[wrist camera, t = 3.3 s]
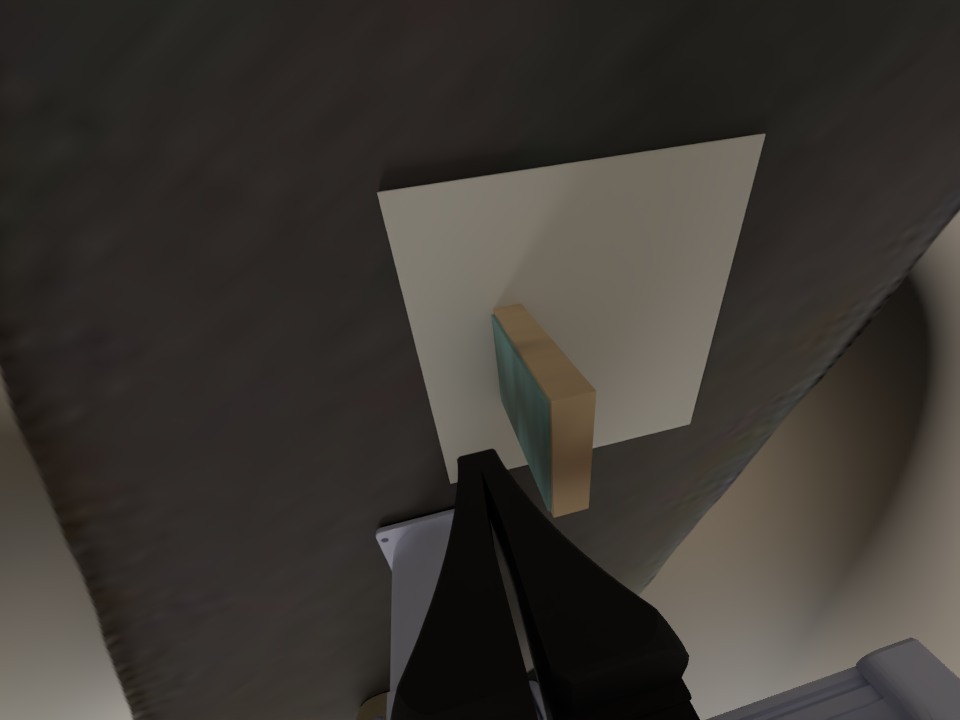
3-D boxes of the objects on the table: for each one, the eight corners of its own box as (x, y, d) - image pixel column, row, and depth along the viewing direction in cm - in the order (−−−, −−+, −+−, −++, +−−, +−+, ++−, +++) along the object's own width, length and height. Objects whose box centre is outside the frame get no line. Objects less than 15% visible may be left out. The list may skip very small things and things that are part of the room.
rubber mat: (685, 419, 26) (689, 423, 25) (449, 478, 24) (450, 483, 23) (756, 134, 16) (765, 133, 16) (377, 191, 14) (377, 193, 14)
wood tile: (526, 395, 21) (588, 508, 14) (500, 401, 21) (550, 518, 14) (520, 303, 18) (596, 391, 11) (489, 309, 18) (547, 402, 11)
